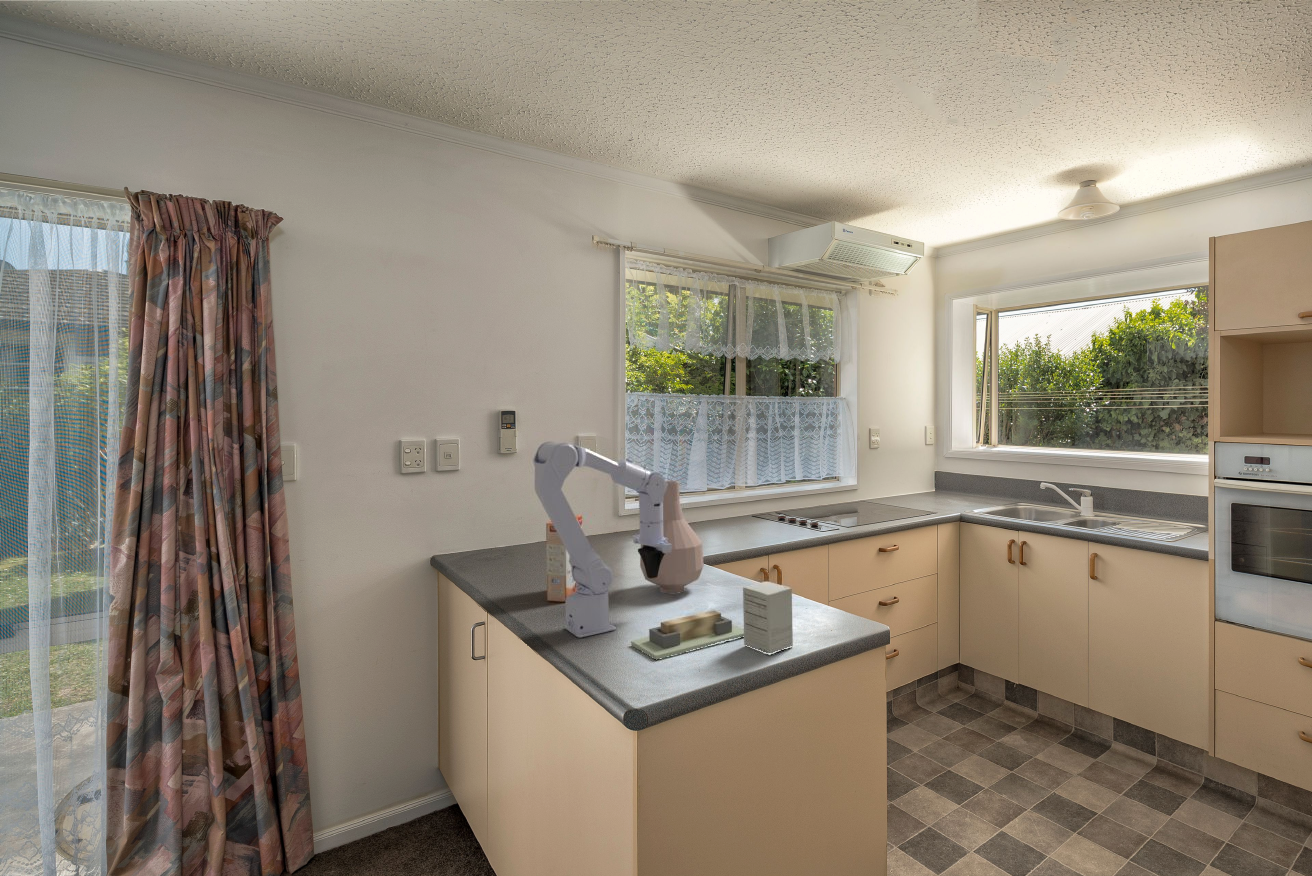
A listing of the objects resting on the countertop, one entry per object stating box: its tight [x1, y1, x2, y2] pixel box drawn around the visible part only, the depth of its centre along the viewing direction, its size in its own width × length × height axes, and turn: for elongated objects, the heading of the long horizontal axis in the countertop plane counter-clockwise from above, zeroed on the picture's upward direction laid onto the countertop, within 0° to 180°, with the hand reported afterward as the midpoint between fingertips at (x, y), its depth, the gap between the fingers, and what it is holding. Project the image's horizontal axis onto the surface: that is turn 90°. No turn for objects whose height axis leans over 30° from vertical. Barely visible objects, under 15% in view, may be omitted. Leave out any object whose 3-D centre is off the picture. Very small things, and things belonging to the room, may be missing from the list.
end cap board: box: [630, 615, 744, 661], centre depth 136 cm, size 24×10×4 cm, turn 122°
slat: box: [660, 610, 722, 642], centre depth 136 cm, size 14×2×4 cm, turn 122°
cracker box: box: [545, 514, 583, 603], centre depth 172 cm, size 14×6×21 cm, turn 168°
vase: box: [639, 480, 705, 594], centre depth 174 cm, size 18×18×30 cm
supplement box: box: [742, 581, 794, 653], centre depth 131 cm, size 7×7×13 cm
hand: (652, 577), depth 153 cm, fingers closed
